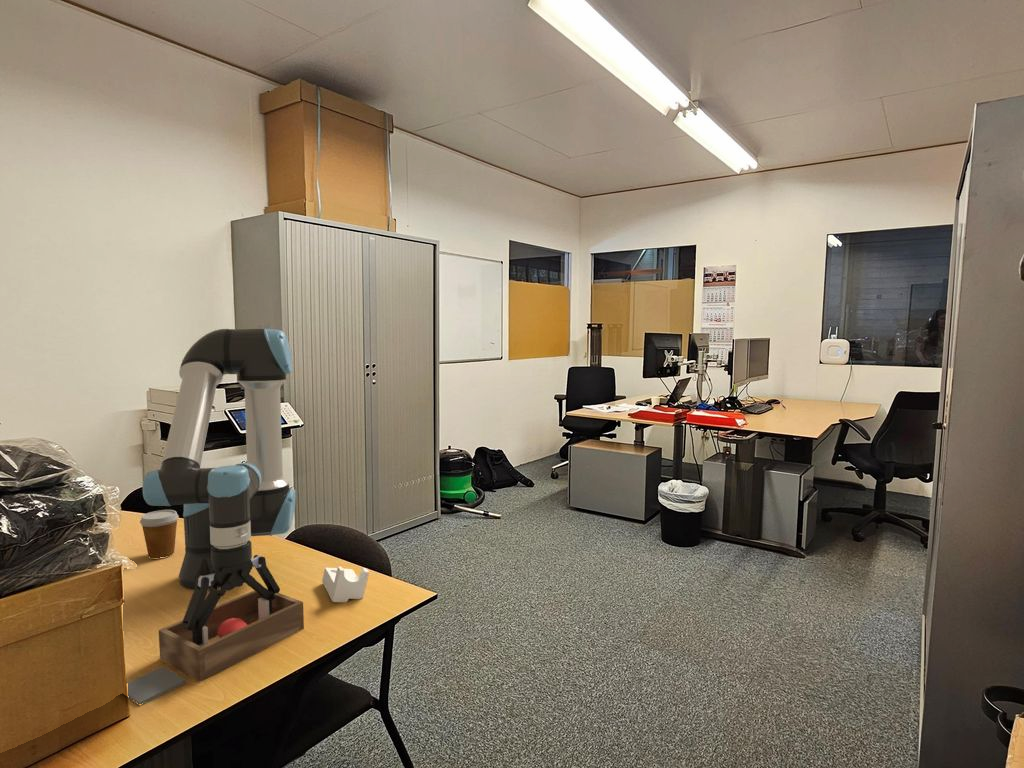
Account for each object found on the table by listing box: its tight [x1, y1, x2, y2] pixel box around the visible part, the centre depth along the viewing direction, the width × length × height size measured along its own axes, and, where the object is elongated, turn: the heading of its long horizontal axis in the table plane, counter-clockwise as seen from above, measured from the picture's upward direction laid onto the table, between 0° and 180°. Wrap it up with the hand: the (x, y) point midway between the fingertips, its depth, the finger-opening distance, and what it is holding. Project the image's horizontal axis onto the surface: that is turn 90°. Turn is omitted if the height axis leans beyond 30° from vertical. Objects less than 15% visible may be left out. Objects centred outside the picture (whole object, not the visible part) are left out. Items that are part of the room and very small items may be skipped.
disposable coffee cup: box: [139, 509, 180, 559], centre depth 169 cm, size 10×10×12 cm
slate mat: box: [127, 666, 187, 705], centre depth 107 cm, size 8×8×1 cm
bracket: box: [321, 566, 370, 603], centre depth 147 cm, size 13×7×8 cm, turn 29°
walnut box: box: [158, 587, 305, 682], centre depth 122 cm, size 14×23×6 cm, turn 148°
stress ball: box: [217, 618, 248, 639], centre depth 122 cm, size 5×9×6 cm, turn 34°
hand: (235, 642), depth 122 cm, fingers open, 13 cm apart
